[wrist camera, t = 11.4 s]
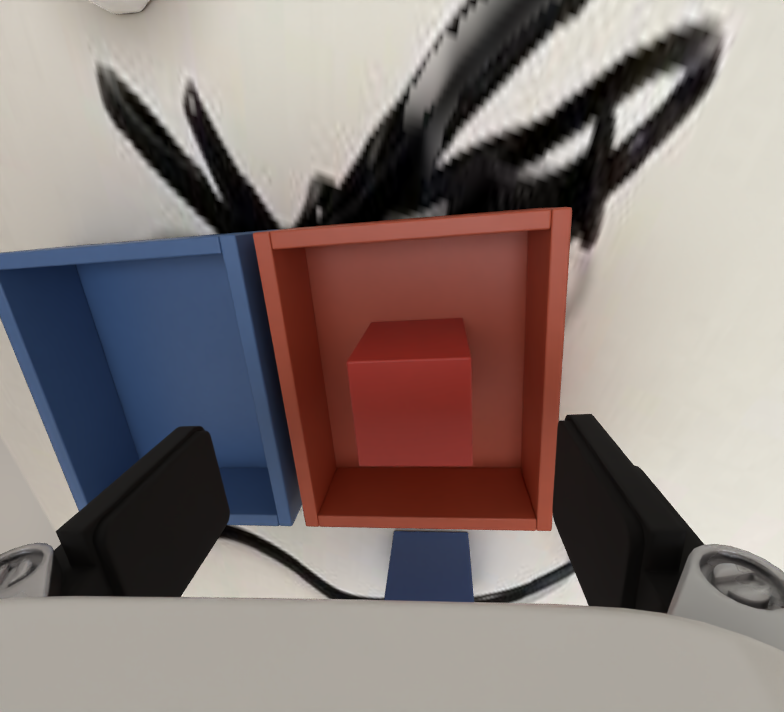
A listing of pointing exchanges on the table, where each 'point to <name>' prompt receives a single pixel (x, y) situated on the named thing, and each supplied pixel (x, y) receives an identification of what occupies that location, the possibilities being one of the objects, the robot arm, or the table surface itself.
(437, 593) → the blue block
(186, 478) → the robot arm
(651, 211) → the table surface
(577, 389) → the table surface
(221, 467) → the blue bin
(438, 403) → the red block
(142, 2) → the milkshake
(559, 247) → the red bin
